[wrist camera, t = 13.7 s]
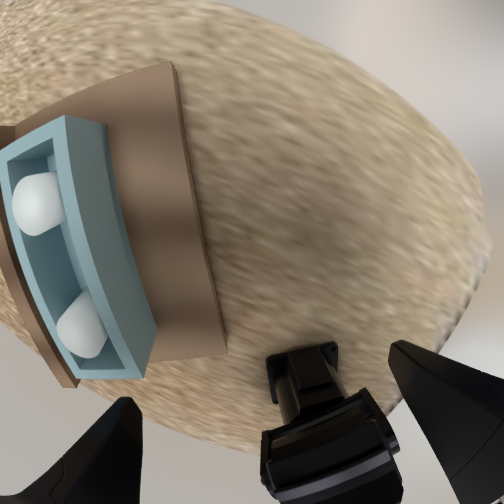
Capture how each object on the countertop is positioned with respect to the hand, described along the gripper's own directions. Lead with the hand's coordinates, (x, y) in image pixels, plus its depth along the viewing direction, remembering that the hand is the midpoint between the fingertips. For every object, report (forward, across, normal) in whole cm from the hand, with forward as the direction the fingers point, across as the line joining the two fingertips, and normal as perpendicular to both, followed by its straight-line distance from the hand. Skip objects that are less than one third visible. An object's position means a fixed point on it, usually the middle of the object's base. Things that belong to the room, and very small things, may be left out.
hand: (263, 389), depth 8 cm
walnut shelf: (+12, +9, -4) cm, 15 cm away
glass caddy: (+10, +9, -4) cm, 14 cm away
